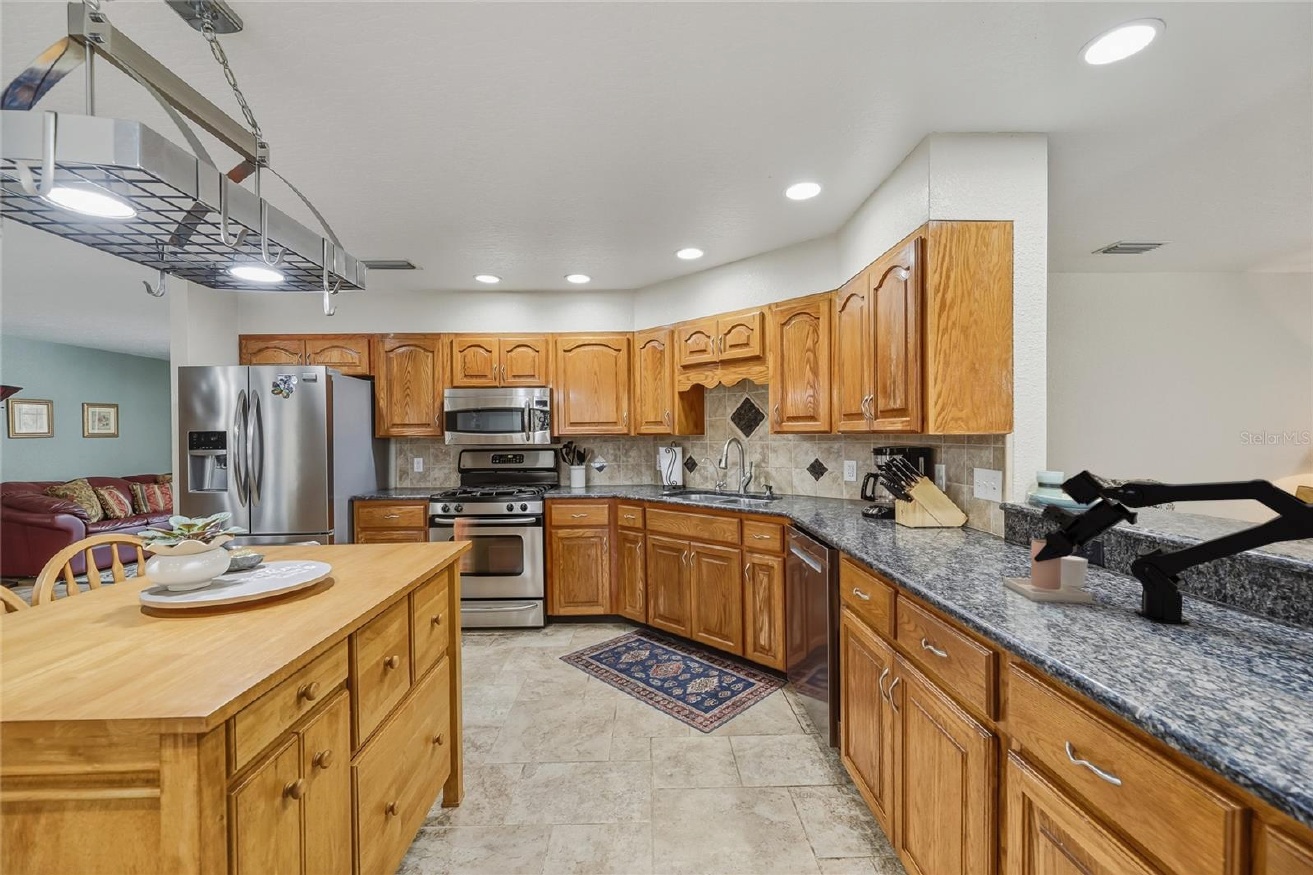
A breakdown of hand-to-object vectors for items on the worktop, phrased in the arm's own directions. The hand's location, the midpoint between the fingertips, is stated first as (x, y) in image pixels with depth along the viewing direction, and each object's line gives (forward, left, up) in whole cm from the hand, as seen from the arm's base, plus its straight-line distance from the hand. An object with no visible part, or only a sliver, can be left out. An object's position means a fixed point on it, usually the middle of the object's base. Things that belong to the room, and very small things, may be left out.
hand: (1039, 558), depth 133 cm
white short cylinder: (+10, -14, -9) cm, 19 cm away
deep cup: (-1, -1, -7) cm, 7 cm away
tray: (-1, -1, -9) cm, 9 cm away
